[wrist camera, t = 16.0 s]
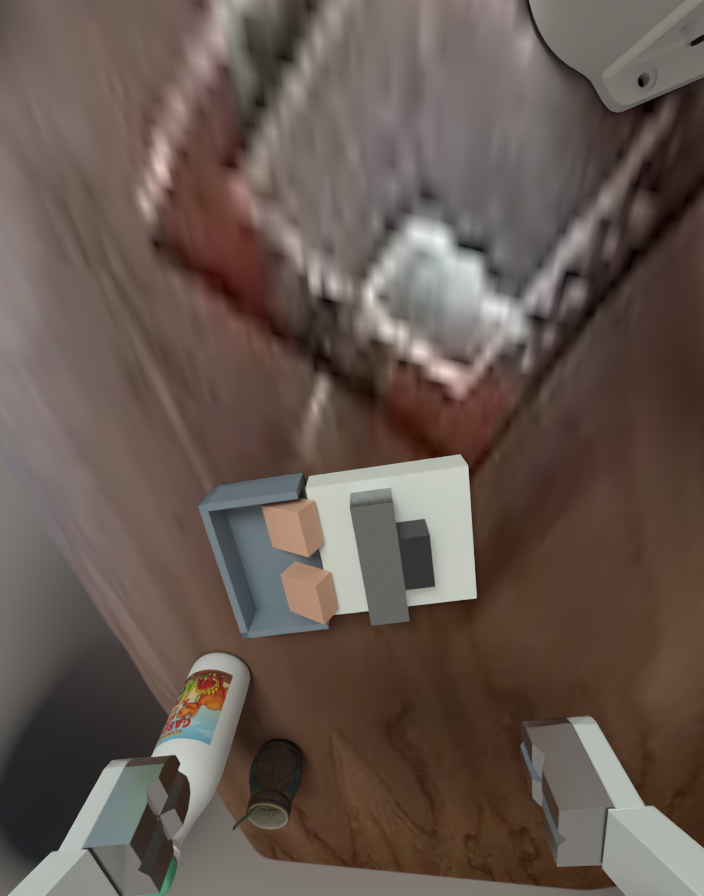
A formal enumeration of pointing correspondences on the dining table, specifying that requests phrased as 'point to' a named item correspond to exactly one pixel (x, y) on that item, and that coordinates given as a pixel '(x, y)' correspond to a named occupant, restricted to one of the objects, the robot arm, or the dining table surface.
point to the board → (414, 497)
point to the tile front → (293, 525)
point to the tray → (255, 554)
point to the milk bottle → (203, 734)
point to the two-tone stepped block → (389, 555)
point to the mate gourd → (273, 784)
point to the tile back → (309, 592)
